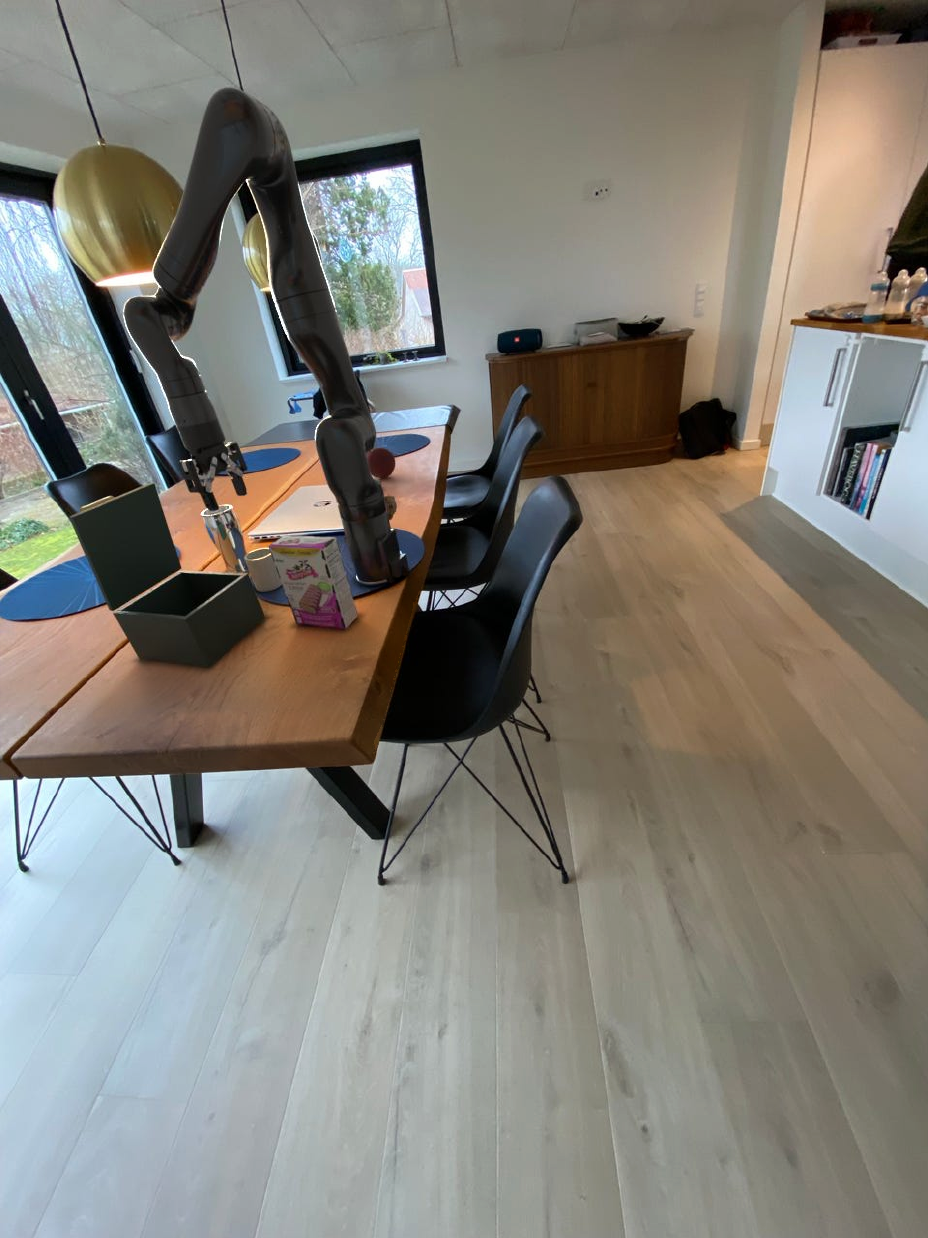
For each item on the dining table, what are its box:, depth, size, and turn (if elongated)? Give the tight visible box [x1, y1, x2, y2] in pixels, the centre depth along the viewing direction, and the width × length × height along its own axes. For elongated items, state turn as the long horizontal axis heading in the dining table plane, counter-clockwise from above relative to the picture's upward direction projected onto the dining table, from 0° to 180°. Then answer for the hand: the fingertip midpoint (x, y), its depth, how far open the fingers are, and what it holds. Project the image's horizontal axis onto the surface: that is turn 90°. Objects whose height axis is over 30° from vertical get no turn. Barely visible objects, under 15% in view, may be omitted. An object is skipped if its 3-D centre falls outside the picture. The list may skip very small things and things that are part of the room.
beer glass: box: [200, 504, 250, 573], centre depth 117 cm, size 7×7×15 cm
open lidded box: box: [112, 569, 267, 669], centre depth 93 cm, size 16×16×10 cm
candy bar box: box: [267, 534, 359, 630], centre depth 91 cm, size 11×5×16 cm, turn 71°
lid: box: [68, 482, 182, 612], centre depth 89 cm, size 17×16×6 cm
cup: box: [244, 547, 282, 593], centre depth 110 cm, size 6×6×8 cm
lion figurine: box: [344, 494, 398, 540], centre depth 127 cm, size 15×5×9 cm, turn 110°
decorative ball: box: [366, 446, 396, 479], centre depth 170 cm, size 10×10×10 cm
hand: (228, 502), depth 105 cm, fingers open, 8 cm apart
